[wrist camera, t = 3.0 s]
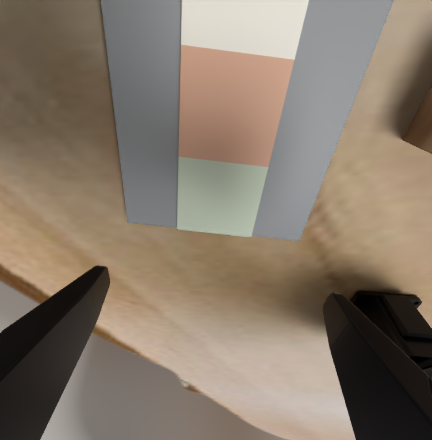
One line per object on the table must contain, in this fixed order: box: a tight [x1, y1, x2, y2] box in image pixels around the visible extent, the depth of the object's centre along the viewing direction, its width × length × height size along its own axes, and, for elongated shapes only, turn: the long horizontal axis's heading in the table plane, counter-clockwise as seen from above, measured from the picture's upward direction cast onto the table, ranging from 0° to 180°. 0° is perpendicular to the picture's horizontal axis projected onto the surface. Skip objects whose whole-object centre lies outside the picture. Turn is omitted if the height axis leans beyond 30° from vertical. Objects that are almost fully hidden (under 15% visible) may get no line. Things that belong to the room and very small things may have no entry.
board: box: [101, 0, 393, 241], centre depth 15 cm, size 18×14×1 cm
